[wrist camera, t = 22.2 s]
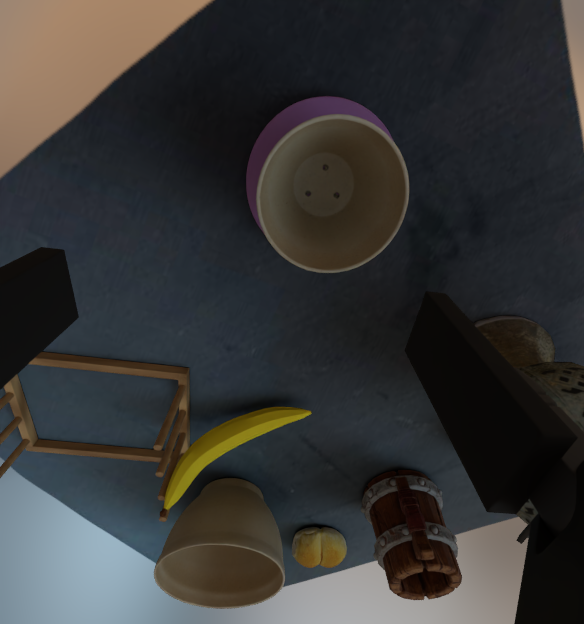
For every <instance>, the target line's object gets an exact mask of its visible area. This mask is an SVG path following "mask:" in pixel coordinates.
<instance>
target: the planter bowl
mask: <svg viewBox="0 0 584 624" xmlns="http://www.w3.org/2000/svg"><path fill="white" fill-rule="evenodd" d="M154 578H155V581H156V583H157V585H158V586H159V587H160V588H161V589H162V590H163V591H164V592H165V593H167V594H168V595H170V596H171V597H173V598H175V599H177V600H180V601H182V602H184V603H188V604H191V605H196V606H201V607H207V608H220V609H224V608H239V607H245V606H250V605H255V604H258V603H261V602H264V601H266V600H268V599H270V598H272V597H273V596H275V595H276V594H277V593H278V592H279V591H280V590H281V589H282V587H283V585H284V582H285V569H284V564H283V552H282V543H281V538H280V534H279V530H278V527H277V524H276V522H275V519H274V517H273V515H272V513H271V511H270V509H269V508H268V506H267V505H266V503H265V502H264V499H263V494H262V492H261V491H260V489H259V488H258V487H257V486H255V485H254V484H252V483H250V482H248V481H246V480H242V479H237V478H224V479H218V480H215V481H213V482H211V483H209V484H207V485H206V486H205V487H204V488H203V490H202V491H201V493H200V495H199V496H198V497H197V498H196V499H195V500H194V501H193V502H192V503H191V504H190V505H189V506H188V507H187V508H186V509H185V510H184V511H183V513H182V514H181V515H180V517H179V518H178V520H177V521H176V523H175V524H174V526H173V528H172V530H171V532H170V534H169V536H168V538H167V540H166V543H165V545H164V548H163V551H162V554H161V555H160V557H159V559H158V561H157V563H156V566H155V570H154Z"/></svg>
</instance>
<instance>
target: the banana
mask: <svg viewBox="0 0 584 624" xmlns="http://www.w3.org/2000/svg"><path fill="white" fill-rule="evenodd" d="M311 413H312V412H311V411H308V410H305V409H302V408H293V407H271V408H264V409H261V410H257V411H254V412H251V413H248V414H245V415H242V416H239V417H237V418H234V419H232V420H229V421H227V422H225V423H223V424H221V425H219V426H217V427H215V428H213V429H212V430H210V431H209V432H207V433H206V434H204V435H203V436H201V437H200V438H199V439H198V440H197V441H195V442H194V443H193V444H192V445H191V446H190V447H189V449H188V450H187V451H186V452H185V453H184V455H183V456H182V457H181V459H180V460H179V462H178V464H177V466H176V468H175V470H174V472H173V474H172V477H171V479H170V482H169V485H168V488H167V491H166V495H165V502H164V508H163V510H162V511H161V512H160V516H161V517H165V516H166V513H167V510H168V509H169V508H170V507H172V506H173V505H174V504H175V503H176V502H177V501H178V500H179V499H180V497H181V496H182V495H183V494H184V492H185V491H186V490H187V488H188V487H189V485H190V484H191V483H192V481H193V480H194V479H195V477H196V476H197V475H198V474H199V472H200V471H201V470H202V469H203V468H205V467H206V466H207V465H208V464H209V463H211V462H212V461H213V460H215V459H216V458H218V457H219V456H221V455H223V454H224V453H226V452H228V451H229V450H231V449H233V448H235V447H237V446H238V445H241V444H243V443H245V442H247V441H249V440H251V439H253V438H255V437H257V436H260V435H262V434H264V433H266V432H269V431H271V430H273V429H276V428H278V427H281V426H283V425H285V424H288V423H291V422H294V421H297V420H299V419H302V418H305V417H306V416H307V415H310V414H311Z"/></svg>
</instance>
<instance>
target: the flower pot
mask: <svg viewBox="0 0 584 624" xmlns="http://www.w3.org/2000/svg"><path fill="white" fill-rule="evenodd" d="M323 166H325V169H323ZM309 193H311V194H310V196H307V194H309ZM336 193H338V194H339V195H336ZM408 199H409V178H408V172H407V168H406V165H405V162H404V159H403V157H402V155H401V153H400V151H399V149H398V147H397V146H396V144H395V143H394V142H393V140H392V139H391V138H390V137H389V136H388V135H387V134H386V133H385V132H384V131H383V130H382V129H380V128H379V127H378V126H376V125H375V124H373V123H371V122H369V121H367V120H365V119H362V118H359V117H356V116H351V115H345V114H330V115H323V116H319V117H315V118H312V119H310V120H307V121H305V122H303V123H301V124H299V125H298V126H296V127H295V128H293V129H292V130H290V131H289V132H288V133H286V134H285V135H284V136H283V137H282V138H281V139H280V140H279V141H278V142H277V144H276V145H275V146H274V147H273V149H272V150H271V152H270V153H269V155H268V157H267V159H266V161H265V163H264V165H263V167H262V169H261V173H260V176H259V180H258V184H257V193H256V205H257V212H258V217H259V221H260V224H261V227H262V230H263V232H264V234H265V236H266V237H267V239H268V241H269V242H270V244H271V245H272V246H273V248H274V249H275V250H276V251H277V252H278V253H279V254H280V255H281V256H282V257H284V258H285V259H286V260H288V261H289V262H291V263H292V264H294V265H296V266H298V267H300V268H303V269H306V270H309V271H314V272H320V273H336V272H343V271H347V270H351V269H354V268H356V267H359V266H361V265H363V264H365V263H366V262H368V261H370V260H371V259H373V258H374V257H376V256H377V255H378V254H379V253H380V252H381V251H382V250H383V249H384V248H385V247H386V246H387V245H388V244H389V243H390V242H391V240H392V239H393V238H394V236H395V235H396V233H397V231H398V229H399V228H400V226H401V224H402V221H403V219H404V216H405V213H406V209H407V205H408Z"/></svg>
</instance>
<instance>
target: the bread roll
mask: <svg viewBox="0 0 584 624" xmlns="http://www.w3.org/2000/svg"><path fill="white" fill-rule="evenodd" d="M346 551H347V547H346V541H345V539H344V537H343V536H342V534H340V533H339V532H338V531H337V530H335V529H332V528H328V527H322V528H321V529H319V528H317V527H308V528H305V529H302V530H300V531H298V532H297V533H296V534H295V537H294V539H293V545H292V555H293V556H294V557H295V559H296V560H297V561H298V562H299V563H300V564H301V565H303V566H305V567H308V568H312V567H315V566H317V565H318V564H320V565H322V566H324V567H327V568H331V567H334V566H336V565H338V564H339V563H340V562H341V561H342V560H343V558H344V557H345V555H346Z"/></svg>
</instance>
